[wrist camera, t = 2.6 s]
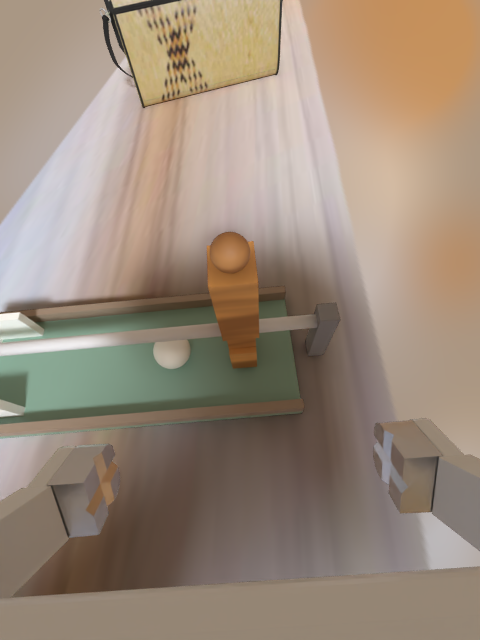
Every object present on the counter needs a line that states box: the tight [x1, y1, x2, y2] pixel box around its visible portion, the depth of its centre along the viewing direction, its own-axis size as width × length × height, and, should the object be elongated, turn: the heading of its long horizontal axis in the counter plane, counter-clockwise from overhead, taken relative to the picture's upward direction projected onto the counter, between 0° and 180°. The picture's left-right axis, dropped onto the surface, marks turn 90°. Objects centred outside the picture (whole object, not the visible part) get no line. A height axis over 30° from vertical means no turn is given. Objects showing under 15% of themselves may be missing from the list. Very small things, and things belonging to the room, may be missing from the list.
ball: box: [153, 340, 191, 369], centre depth 31 cm, size 4×4×4 cm
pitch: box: [0, 286, 340, 439], centre depth 30 cm, size 13×38×8 cm, turn 94°
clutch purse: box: [100, 0, 283, 108], centre depth 52 cm, size 30×7×15 cm, turn 108°
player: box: [207, 232, 259, 369], centre depth 25 cm, size 4×3×16 cm
